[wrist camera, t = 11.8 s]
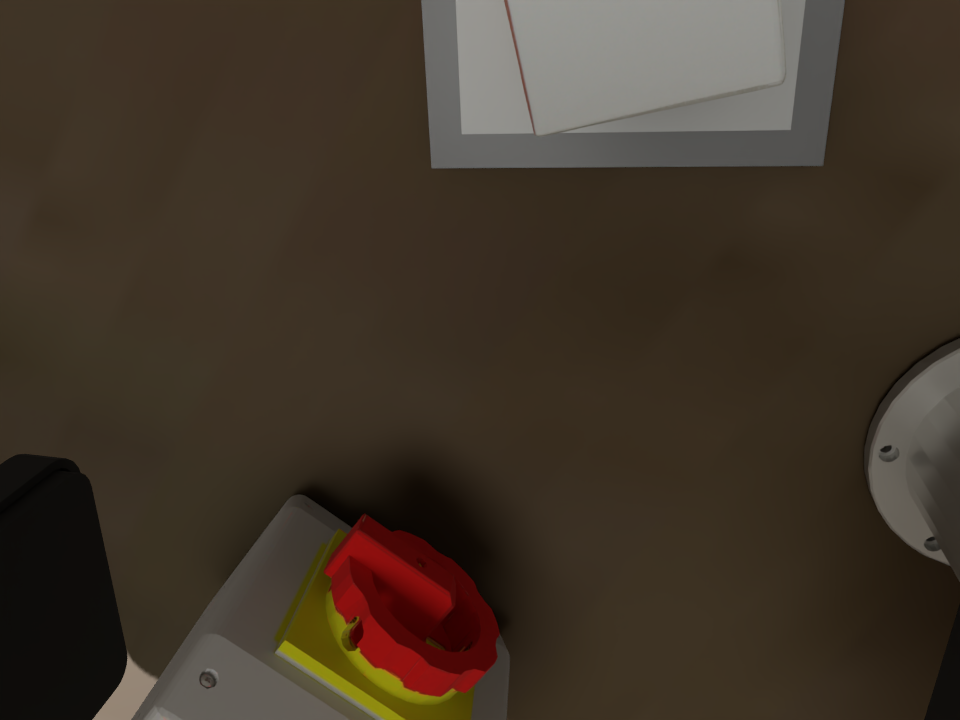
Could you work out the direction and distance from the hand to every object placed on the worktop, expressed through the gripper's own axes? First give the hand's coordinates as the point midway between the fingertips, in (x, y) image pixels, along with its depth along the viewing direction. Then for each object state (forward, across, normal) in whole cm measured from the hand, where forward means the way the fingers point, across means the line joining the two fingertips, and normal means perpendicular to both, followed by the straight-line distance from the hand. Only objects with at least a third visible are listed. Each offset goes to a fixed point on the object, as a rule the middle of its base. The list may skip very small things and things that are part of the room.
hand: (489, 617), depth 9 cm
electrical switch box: (+29, +10, +24) cm, 39 cm away
